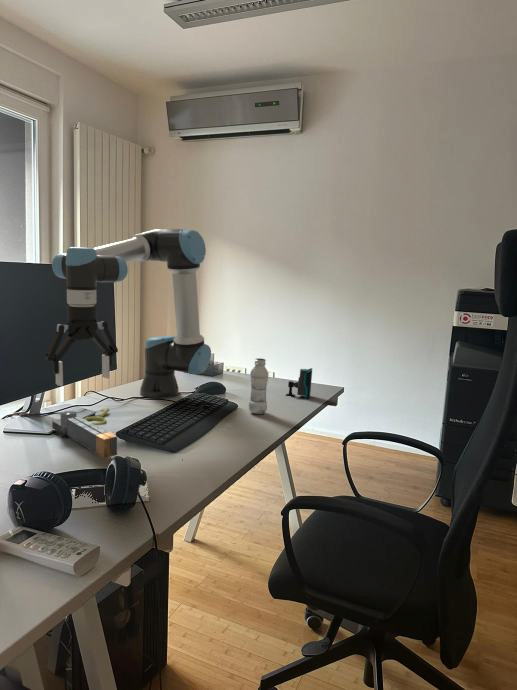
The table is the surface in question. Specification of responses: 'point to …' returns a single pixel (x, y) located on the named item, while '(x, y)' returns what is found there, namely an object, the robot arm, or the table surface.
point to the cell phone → (101, 492)
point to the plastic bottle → (258, 387)
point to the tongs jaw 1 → (89, 437)
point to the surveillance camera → (302, 383)
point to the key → (99, 417)
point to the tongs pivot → (63, 423)
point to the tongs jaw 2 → (112, 437)
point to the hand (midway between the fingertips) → (83, 381)
